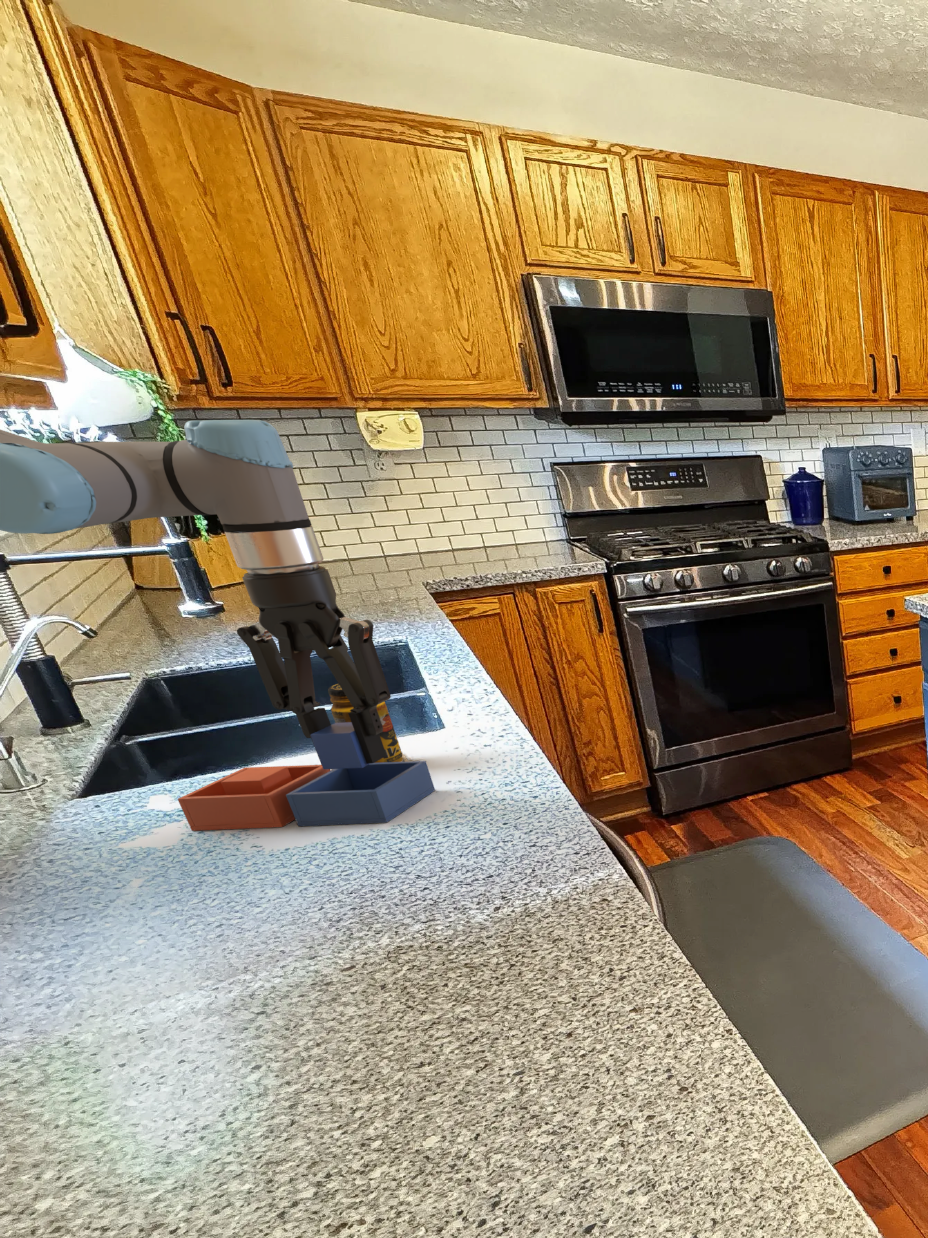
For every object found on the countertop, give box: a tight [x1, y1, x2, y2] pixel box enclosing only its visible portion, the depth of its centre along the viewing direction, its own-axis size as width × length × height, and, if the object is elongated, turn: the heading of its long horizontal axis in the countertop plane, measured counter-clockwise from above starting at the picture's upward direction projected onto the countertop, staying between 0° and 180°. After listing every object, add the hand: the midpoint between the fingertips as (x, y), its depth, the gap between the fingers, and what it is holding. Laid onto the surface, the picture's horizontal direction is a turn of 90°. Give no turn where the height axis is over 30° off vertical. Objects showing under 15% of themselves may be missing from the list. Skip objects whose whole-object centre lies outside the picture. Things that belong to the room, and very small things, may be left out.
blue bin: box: [286, 760, 436, 827], centre depth 108 cm, size 10×10×4 cm
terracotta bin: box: [177, 764, 331, 832], centre depth 107 cm, size 10×10×4 cm
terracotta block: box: [221, 766, 292, 795], centre depth 107 cm, size 4×4×4 cm
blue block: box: [310, 722, 368, 770], centre depth 106 cm, size 4×4×4 cm
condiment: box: [327, 682, 410, 770], centre depth 120 cm, size 7×8×12 cm
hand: (354, 760), depth 107 cm, fingers closed on blue block, 4 cm apart
